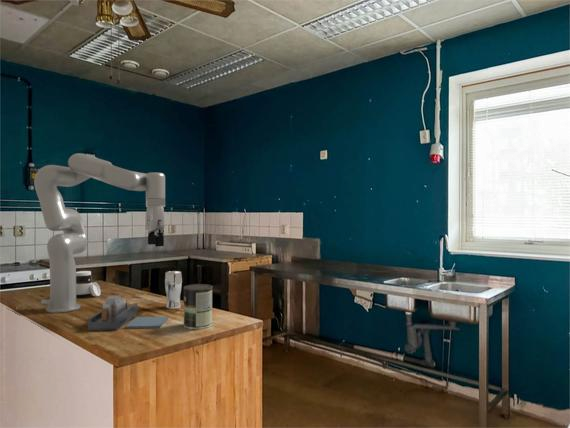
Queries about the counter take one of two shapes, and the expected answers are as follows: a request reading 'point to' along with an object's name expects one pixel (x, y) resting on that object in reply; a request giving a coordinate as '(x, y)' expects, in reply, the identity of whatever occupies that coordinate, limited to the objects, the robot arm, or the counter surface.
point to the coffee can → (197, 306)
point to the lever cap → (115, 305)
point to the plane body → (111, 319)
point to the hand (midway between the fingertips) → (155, 245)
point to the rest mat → (146, 322)
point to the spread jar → (86, 285)
